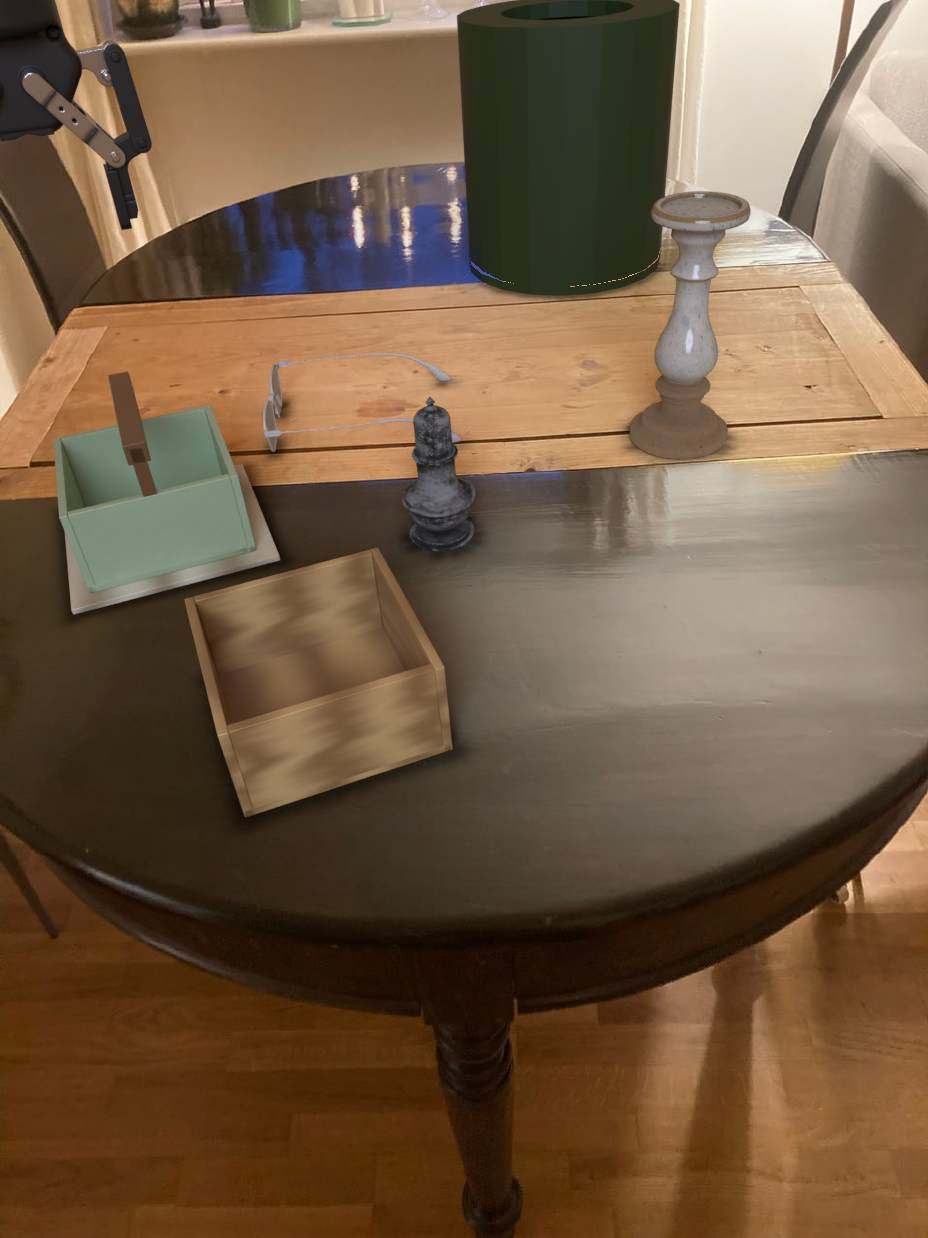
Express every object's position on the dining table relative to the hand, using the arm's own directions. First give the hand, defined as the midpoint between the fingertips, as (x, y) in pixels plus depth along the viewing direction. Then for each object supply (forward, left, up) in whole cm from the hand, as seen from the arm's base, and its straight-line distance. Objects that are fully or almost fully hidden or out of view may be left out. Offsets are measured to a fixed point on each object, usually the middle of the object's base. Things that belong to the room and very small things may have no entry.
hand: (60, 236), depth 61 cm
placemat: (+1, +1, -25) cm, 25 cm away
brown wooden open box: (+8, -25, -25) cm, 36 cm away
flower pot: (+58, +44, -25) cm, 77 cm away
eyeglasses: (+22, +13, -25) cm, 35 cm away
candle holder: (+47, -4, -25) cm, 53 cm away
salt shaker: (+22, -9, -25) cm, 34 cm away
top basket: (+1, +1, -24) cm, 24 cm away
